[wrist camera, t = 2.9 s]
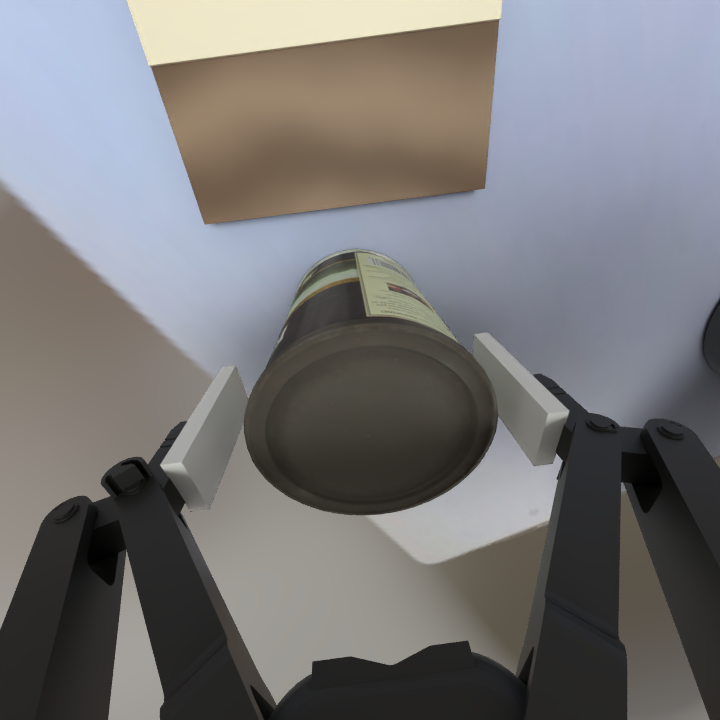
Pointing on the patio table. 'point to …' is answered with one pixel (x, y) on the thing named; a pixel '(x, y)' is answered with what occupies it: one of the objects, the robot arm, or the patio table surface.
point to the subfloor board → (334, 122)
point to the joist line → (286, 23)
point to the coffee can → (367, 394)
